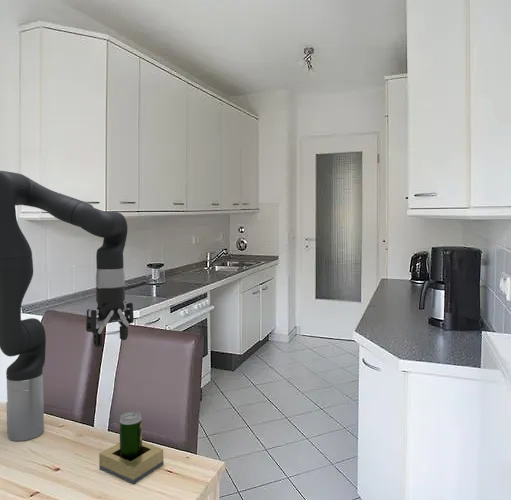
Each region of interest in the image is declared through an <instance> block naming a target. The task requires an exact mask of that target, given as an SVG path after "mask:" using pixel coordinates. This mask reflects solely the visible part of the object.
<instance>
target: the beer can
mask: <svg viewBox="0 0 511 500" xmlns="http://www.w3.org/2000/svg"><path fill="white" fill-rule="evenodd" d="M142 419H143V418H142V416H141V413H140V412H137V411H128V412H124V413H122V414H121V415H120V419H119V424H118V425H119V443H120V457H121V458H124V459H126V460H128V461H132V460H134V459H136V458H137V457H139V456H141V455H142V442H143V422H142V421H143V420H142Z"/></svg>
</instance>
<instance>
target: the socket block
mask: <svg viewBox="0 0 511 500" xmlns="http://www.w3.org/2000/svg"><path fill="white" fill-rule="evenodd" d="M98 457H99V461H98V462H99V463H98V466H99V470H101V471H103V472H105V473H107V474H109V475H112V476H114V477H117V478H119V479H121V480H122V481H123V480H124V481H125V482H128V483H130V484H132V485H135V484H136V483H137V482H140V481H141V480H143V479H144V478H146V477H147V476H148V475H150V474H152V473H153V472H154V471H156V470H157V469H159V468H161V467H162V466H164V448H161V447H158V446H155V445H153V444H150V443H147V442H144V441H142V455H141V456H139V457H137V458H136V459H134V460H132V461H128V460H126V459H124V458H121V457H120V442H117V444H115V445H113V446H111V447H109V448H107V449H105V450H104V451H101V452H99V455H98Z"/></svg>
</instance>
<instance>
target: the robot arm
mask: <svg viewBox="0 0 511 500" xmlns="http://www.w3.org/2000/svg"><path fill="white" fill-rule="evenodd" d="M16 206H24V207H25V206H26V207H31V208H36V209H40V210H43V211H45V212H46V213H48V214H49V215H51V216H53V217H54V218H56V219H57V220H60V221H62V222H64V223H67V224H69V225H73V226H76V227H79V228H80V229H82V230H84V231H85V232H87V233H89V234H91V235H93V236H96V237H98V238H101V239H102V238H103V241H102V242H103V243H102V245H101V246H100V247H99V248H97V250H96V252H95V253H96V259H95V260H96V261H95V263H96V272H95V302H96V303H97V304H96V305H97V307H96V308H94V309H93V308H91V309H90V308H88V309H87V310H86V320H85V322H86V324H85V325H86V327H85V329H86V332H87V333H92V334H93V337H92V338H93V345H94V346H95V348H101V347H103V333H102V332H103V330H104V328H105V327H106V326H107V325H108V324H109V323H110V324H111V323H112V322H118V324H119V325H120V326H119V339H120V340H122V341H126V340H127V339H128V336H129V325H130V324H133V323H134V322H135V321H134V320H135V317H134V304H133V302H129V301H125V300H126V289H125V288H126V287H125V286H126V285H125V278H126V276H125V271H124V269H125V268H124V267H125V266H124V250H125V246H126V243H127V235H128V222H127V219H126V217H125V216H124V214H122V213H121V212H117V211H106V210H101V209H99V208H96V207H94V206H93V205H91V203H88V202H86V201H83V200H80V199H77V198H74V197H72V196H70V195H66V194H62V193H60V192H57V191H55V190H52V189H50V188H47V187H45V186H44V185H42V184H40V183H38V182H36V181H35V180H33V179H31V178H30V177H28V176H26V175H24V174H22V173H18V172H12V171H7V170H0V351H1V352H2V353H3V354H4V355H5V356H7V357H15V356H17V358H16V359H15V360H14V361H13V362H12V363H11V364H10V365H9V366H8V367H7V368H6V372H5V375H6V396H7V397H6V404H5V405H6V430H7V431H6V432H7V437H8V439H9V440H11V441H15V442H22V441H23V442H24V441H28V440H32V439H35V438H37V437H40V436H41V435H42V434H43V433H44V431H45V417H44V416H45V415H44V414H45V410H44V407H45V405H44V381H43V380H44V379H43V375H44V373H43V369H44V367H45V364H46V363H45V362H46V346H47V343H46V342H47V341H46V340H47V336H46V329H45V327H44V325H43V323H42V322H41V321H40V320H39V319H37V318H33V317H30V318H26V319H22V317H21V315H22V303H23V299H25V298H24V297H25V295H26V293H27V291H28V288H29V286H30V285H31V282H32V280H33V276H34V262H33V261H34V260H33V252H32V251H33V250H32V248H31V246H30V243H29V242H28V240H27V238H26V237H25V235H24V233H23V231H22V229H21V228H20V225H19V223H18V220H17V213H16V211H17V210H16Z"/></svg>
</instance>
